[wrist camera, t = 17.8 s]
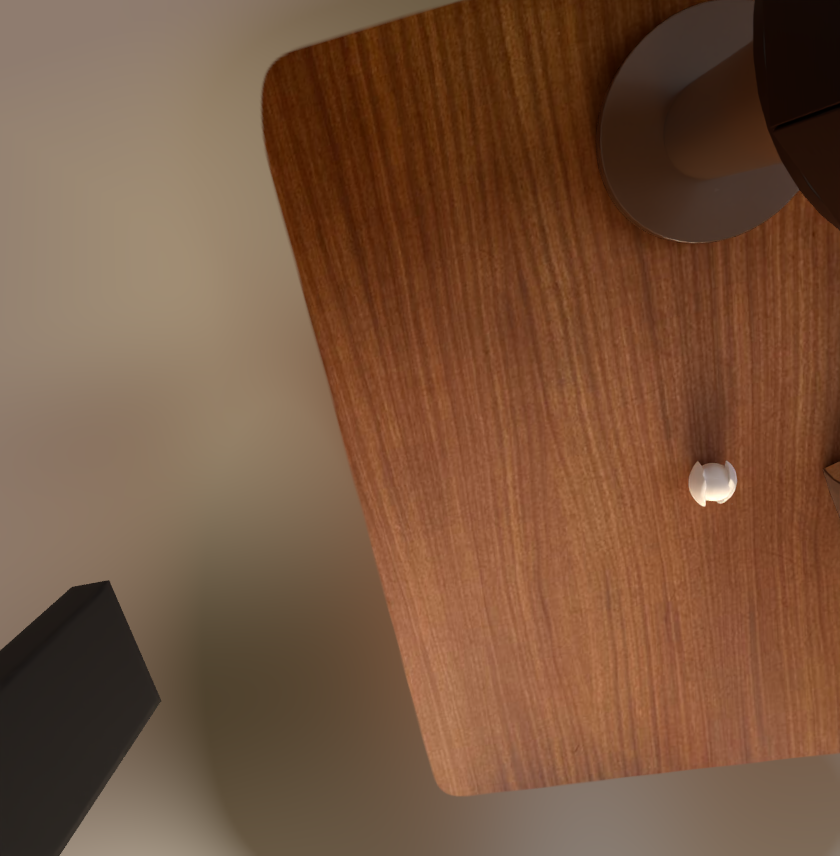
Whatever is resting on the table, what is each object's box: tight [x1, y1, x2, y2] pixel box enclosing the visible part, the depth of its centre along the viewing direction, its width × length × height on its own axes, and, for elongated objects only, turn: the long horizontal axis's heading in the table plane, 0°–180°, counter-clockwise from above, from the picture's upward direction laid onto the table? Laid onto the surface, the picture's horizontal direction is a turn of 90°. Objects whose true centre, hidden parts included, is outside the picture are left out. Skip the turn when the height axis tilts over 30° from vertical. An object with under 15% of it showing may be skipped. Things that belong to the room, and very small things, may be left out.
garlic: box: [689, 460, 737, 506], centre depth 51 cm, size 5×3×5 cm
